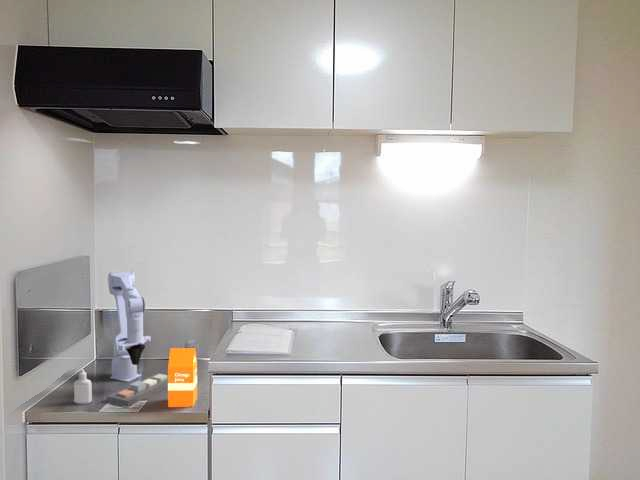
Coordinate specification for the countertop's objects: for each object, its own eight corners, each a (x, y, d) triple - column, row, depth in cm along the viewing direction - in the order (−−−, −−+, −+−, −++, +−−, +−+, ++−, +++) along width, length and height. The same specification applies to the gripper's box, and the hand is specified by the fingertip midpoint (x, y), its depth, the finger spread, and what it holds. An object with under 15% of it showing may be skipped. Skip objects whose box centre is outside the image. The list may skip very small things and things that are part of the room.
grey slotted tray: (106, 401, 172) (106, 396, 172) (157, 377, 196) (157, 373, 196) (128, 406, 169) (127, 400, 168) (176, 381, 192) (176, 377, 192)
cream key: (141, 388, 184) (141, 382, 184) (149, 384, 188) (149, 378, 188) (149, 390, 183) (149, 383, 182) (157, 386, 186) (157, 380, 186)
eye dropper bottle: (82, 406, 168) (81, 372, 167) (72, 402, 171) (72, 369, 170) (93, 401, 172) (93, 369, 171) (84, 398, 175) (83, 366, 174)
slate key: (129, 391, 179) (129, 384, 178) (137, 387, 182) (137, 380, 182) (138, 392, 177) (138, 386, 177) (145, 389, 181) (145, 382, 180)
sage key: (152, 383, 190) (152, 377, 189) (159, 379, 193) (159, 373, 193) (160, 384, 188) (160, 378, 188) (167, 381, 192) (167, 375, 192)
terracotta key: (117, 399, 173) (117, 393, 173) (125, 395, 177) (125, 389, 177) (125, 401, 172) (125, 395, 171) (134, 397, 175) (134, 391, 175)
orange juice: (172, 398, 176) (172, 345, 175) (197, 398, 177) (197, 345, 176) (167, 407, 169) (167, 351, 167) (193, 406, 169) (193, 351, 168)
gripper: (128, 335, 174) (129, 371, 175) (156, 326, 187) (156, 360, 188) (114, 332, 177) (114, 368, 178) (142, 324, 190) (143, 357, 191)
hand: (135, 364), depth 183 cm, fingers closed
